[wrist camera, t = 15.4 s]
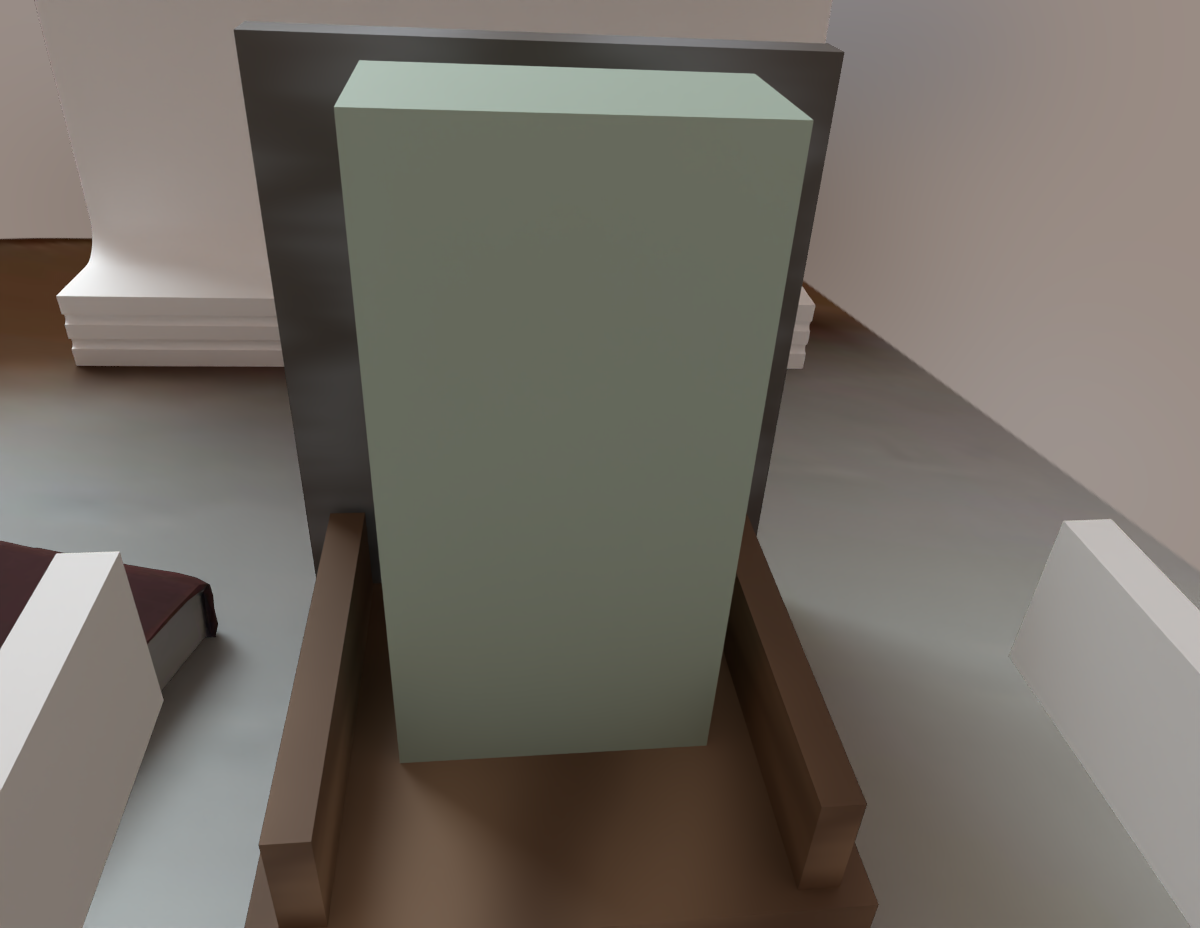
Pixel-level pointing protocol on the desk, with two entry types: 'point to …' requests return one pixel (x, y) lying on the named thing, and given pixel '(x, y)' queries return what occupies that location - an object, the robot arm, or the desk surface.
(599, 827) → the slot board
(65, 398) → the desk surface
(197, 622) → the book
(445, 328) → the grey-green tall block
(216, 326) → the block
